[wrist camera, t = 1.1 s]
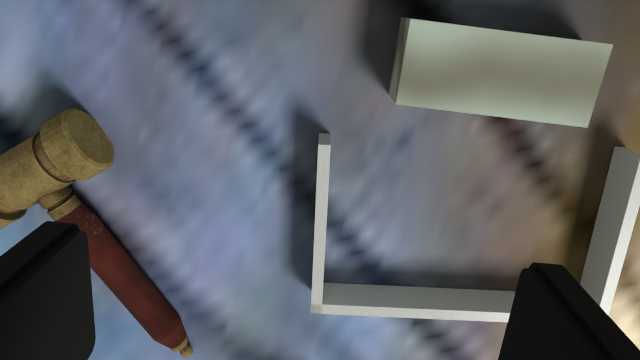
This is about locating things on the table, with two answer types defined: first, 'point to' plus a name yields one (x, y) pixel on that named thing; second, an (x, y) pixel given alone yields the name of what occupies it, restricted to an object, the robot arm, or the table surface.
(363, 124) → the table surface
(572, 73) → the pale green block
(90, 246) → the gavel
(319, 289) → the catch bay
